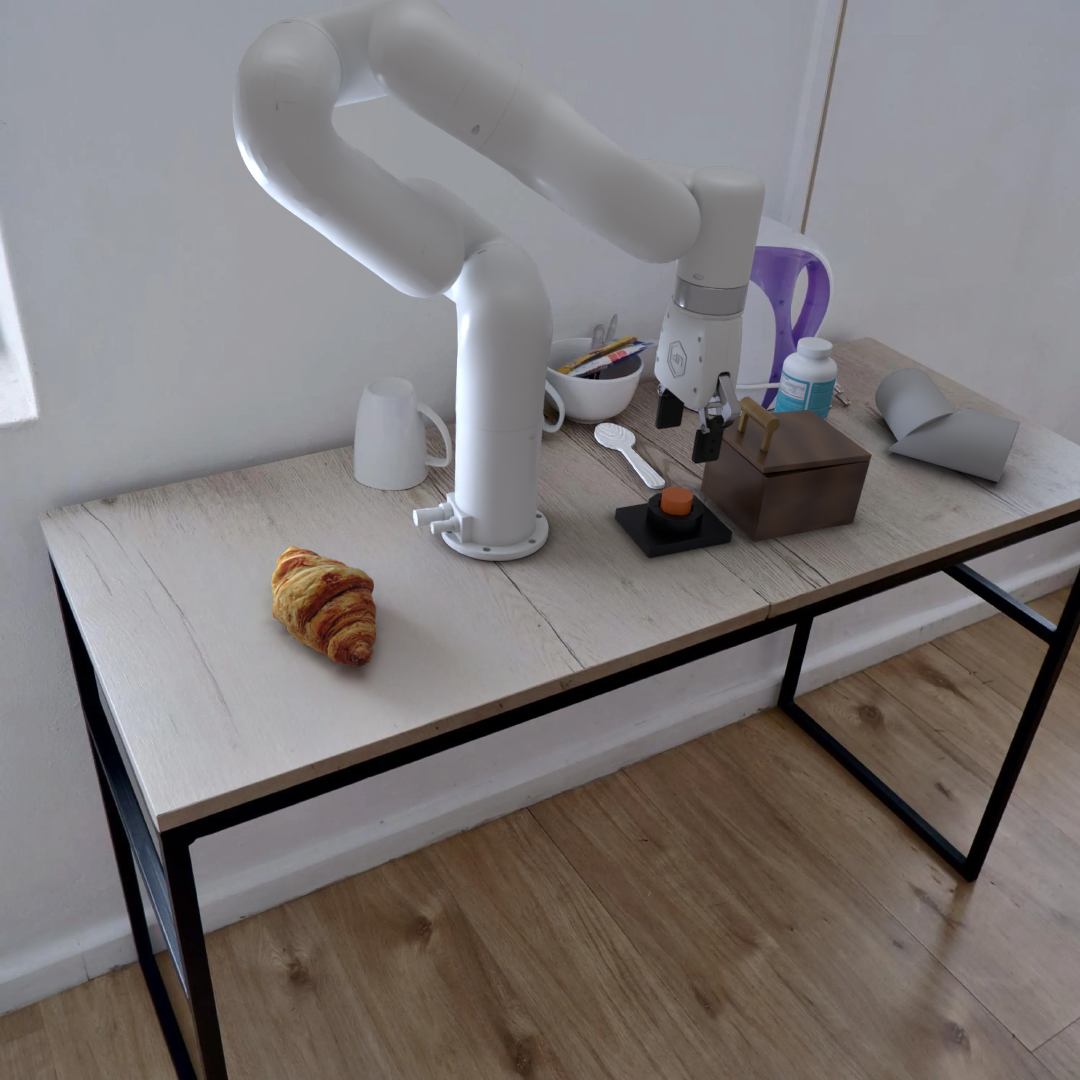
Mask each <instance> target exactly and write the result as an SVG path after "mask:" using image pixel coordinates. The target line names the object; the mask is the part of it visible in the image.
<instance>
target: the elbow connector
mask: <svg viewBox="0 0 1080 1080" xmlns="http://www.w3.org/2000/svg"><path fill="white" fill-rule="evenodd" d="M874 395H875V396H874V397H875V398H874V401H875V405H876V408H877V410H878V411H879V413H880V414H881V416H882V417H883V419H884V421H885V422H886V424H887V426H888V427H889V429H890V430H891V433H893V435H894V437H895V438H896V440H897V442H895V443H894V444H892V445H891V446H890V447H889V448H888V451H889V452H891V453H895V454H897V455H900V456H901V455H902V456H906V457H909V458H913V459H916V460H918V461H923V462H926V463H929V464H933V465H937V466H940V467H944V468H947V469H950V470H954V471H957V472H960V473H964V474H968V475H971V476H974V477H978V478H981V479H984V480H985V479H986V480H989V481H992V482H996V483H999V481H1000V478H1001V477H1002V475H1003V471H1004V469H1005V466H1006V463H1007V462H1008V458H1009V455H1010V452H1011V450H1012V447H1013V445H1014V442H1015V440H1016V436H1017V433H1018V430H1019V428H1020V424H1021V421H1019V420H1015V419H1011V418H1008V417H1004V416H1000V415H996V414H992V413H989V412H985V411H981V410H978V409H974V408H964V409H961V410H958V411H956V409H955V407H954V406H953V405H952V403H951V402H950V401H949V400H948V399H947V397H946V395H944V393H943V392H942V391H941V389H940V388H939V387H938V385H937V384H936V383H935V382H934V381H933V378H932V377H931V376H930V375H929V373H927V372H926V371H925V370H924V369H921V368H918V367H915V366H914V367H913V366H907V367H901V368H898V369H895V370H893V371H892V372H889V374H887V375H886V376H885V377H884V378H882V380H881V381H880V382H879V384H878V386H877V388H876V390H875V394H874Z"/></svg>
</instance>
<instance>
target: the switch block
mask: <svg viewBox="0 0 1080 1080" xmlns="http://www.w3.org/2000/svg"><path fill="white" fill-rule="evenodd" d="M692 495H693V500H692V506H691V511H690V513H689V514H687V515H681V516H680V515H671V514H668V513H666V512H664V511H662V510H661V508H660V505H661V499H662V492H657V493H654V495H652V496H651V497H650V498H648V502H645V503H639V504H634V505H627V506H623V507H616V508H615V513H614V519H615V520H616V522H617V523H618V524H619V526H621V528H622V529H623V530H624V531H625V532H626V534H627V535H628V536H629V537H630V538H631V539H632V540H633V542H635V543H634V544H636V545H637V546H638V547H639V548H640V550H641V551H642V552H643V553H644V554H645V555H646V557H647V558H648V559H653V558H659V557H664V556H669V555H674V554H679V553H684V552H689V551H694V550H700V549H704V548H710V547H714V546H721V545H725V544H730V543H732V539H733V538H732V537H733V531H732V530H731V529H730V528H729V527H728V526H727V525H726V524H724V522H723V521H721V519H720V518H719V517H718V516H717V515H716V514H715V513H714V512H713V511H711V509H710V508H708V507H707V506H706V504H705V503H704V502H702V501H701V500H700V498H699V497H697V496H696V495H695V494H692Z"/></svg>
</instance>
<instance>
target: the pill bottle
mask: <svg viewBox="0 0 1080 1080" xmlns="http://www.w3.org/2000/svg"><path fill="white" fill-rule="evenodd" d="M833 347H834V345H833V343H832V342H830V341H829V340H827V339H825V338H821V337H816V336H815V337H814V336H806V337H805V336H804V337H802V338H800V339H799V340H798V342H797V346H796V351H795V352H792V353H790V354H789V355H788V356H787V357H786V358H785V359H784V361H783V365H782V370H781V374H780V378H779V379H780V380H779V384H778V390H777V395H776V400H775V405H774V410H773V413H776V412H787V411H798V410H809V409H810V410H812V411H813V412H814V413H816V414H817V415H818V416H820V417H821V418H822V419H824V420H825V421H827V420H828V415H829V411H830V408H831V403H832V398H833V394H834V391H835V390H834V389H835V384H836V380H837V377H838V376H837V375H838V368H839V367H838V365H837V362H836V361H835V360H834V359H833V358H832V357H831V355H832V354H833Z"/></svg>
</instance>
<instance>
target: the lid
mask: <svg viewBox="0 0 1080 1080" xmlns="http://www.w3.org/2000/svg"><path fill="white" fill-rule="evenodd" d="M738 402H739V405H740V408H741V414H740V415H739V416H738V417H737V418H736V419H735V420H734V421H733V424H732V425H731V426H729V427H728V429H727V430H726V431H724V432H723V439H724V440H725V441H726V442H728V443H729V444H730V445H731V446H732V447H733V448H734V449H736V450H737V451H738V452H739V453H740V454H741V455H743V456H744V457H745V458H746V459H747V460H748V461H749V462H751V463H752V464H753V465H754V466H755V467H756V468H757V469H759V470H760V471H761V472H762V473H770V472H778V471H786V470H795V469H803V468H811V467H820V466H828V465H836V464H845V463H853V462H861V461H870V462H871V459H872V457H873V455H872V453H870V452H869V451H867V450H866V449H865V448H864V447H862V446H861V445H859V444H858V443H856V442H855V441H853V440H852V439H851V438H850V437H848V436H847V435H846V434H844V433H843V432H842V431H840V430H839V429H837V427H835V426H833V425H832V424H831V423H829V422H828V421H827V420H826V421H825V420H824V419H822V418H821V417H820V416H818V415H817V414H816V413H814V412H813V411H812V410H810V409H809V410H798V411H787V412H776V413H774V412H770V411H769V410H767V409H766V408H765V407H764V406H762V405H761V404H760V403H758V402H757V401H755V400H754V399H753V398H752V397H750V396H744V397H742V398H741V399H740V401H738ZM711 419H712V418H709V420H711Z"/></svg>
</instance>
